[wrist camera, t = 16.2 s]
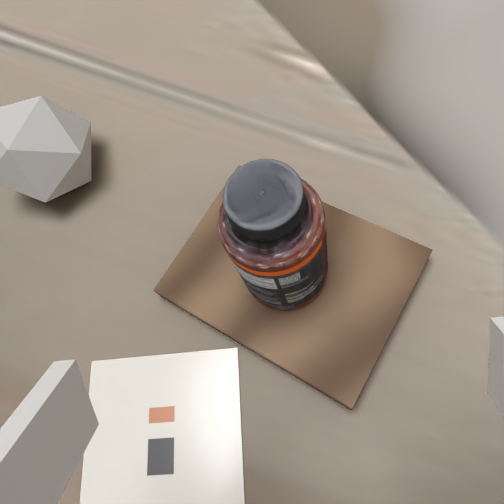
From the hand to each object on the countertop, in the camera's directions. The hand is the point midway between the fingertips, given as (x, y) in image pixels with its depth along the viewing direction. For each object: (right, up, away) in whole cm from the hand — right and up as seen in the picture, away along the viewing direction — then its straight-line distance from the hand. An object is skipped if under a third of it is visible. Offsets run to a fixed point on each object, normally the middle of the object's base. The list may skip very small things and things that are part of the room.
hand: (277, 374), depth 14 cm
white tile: (-7, -9, +16) cm, 19 cm away
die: (-18, +11, +26) cm, 34 cm away
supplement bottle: (+2, +2, +18) cm, 18 cm away
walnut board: (+2, +2, +19) cm, 19 cm away
